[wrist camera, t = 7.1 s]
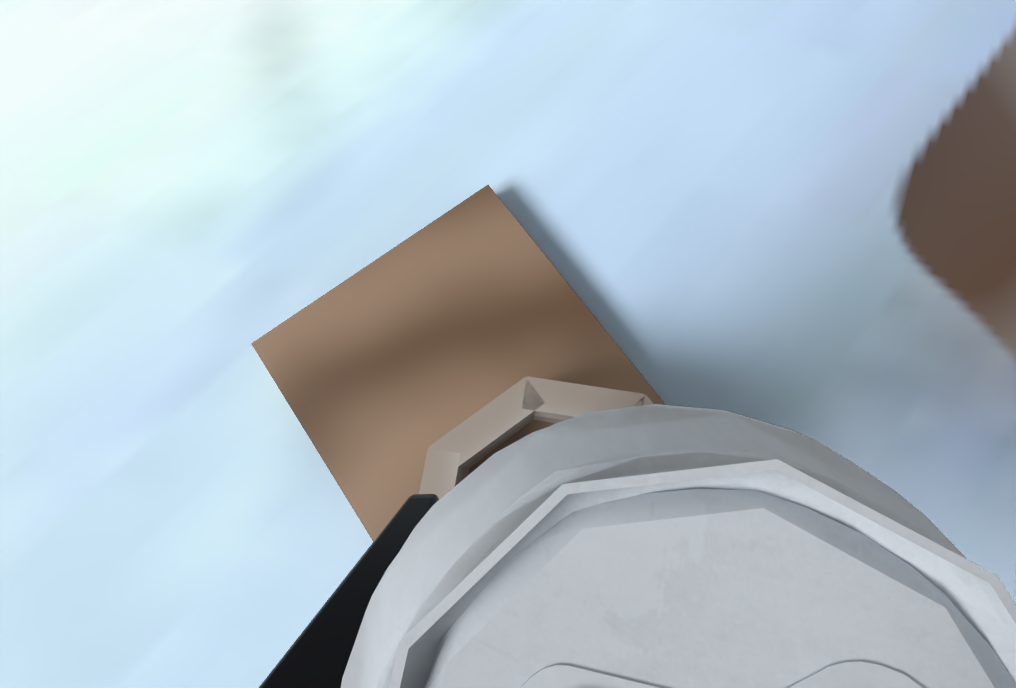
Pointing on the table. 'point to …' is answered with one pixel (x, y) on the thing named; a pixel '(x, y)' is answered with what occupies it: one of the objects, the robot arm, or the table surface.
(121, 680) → the table surface
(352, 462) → the socket board
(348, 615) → the robot arm
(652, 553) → the beer can
